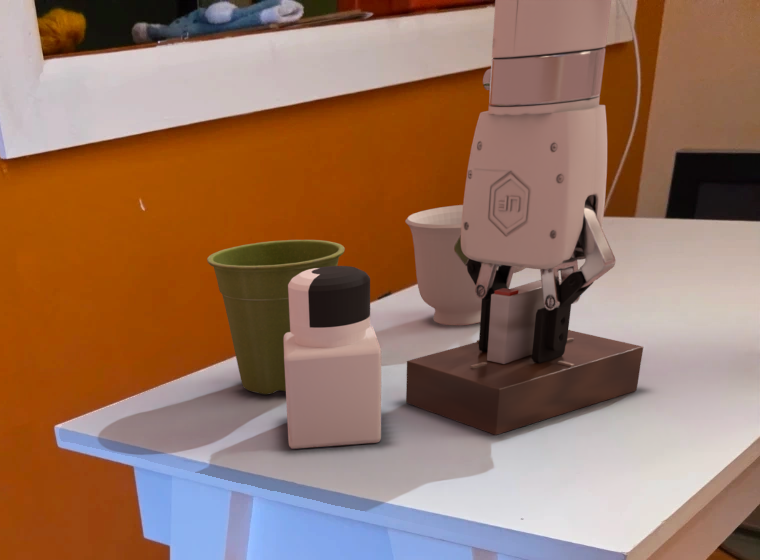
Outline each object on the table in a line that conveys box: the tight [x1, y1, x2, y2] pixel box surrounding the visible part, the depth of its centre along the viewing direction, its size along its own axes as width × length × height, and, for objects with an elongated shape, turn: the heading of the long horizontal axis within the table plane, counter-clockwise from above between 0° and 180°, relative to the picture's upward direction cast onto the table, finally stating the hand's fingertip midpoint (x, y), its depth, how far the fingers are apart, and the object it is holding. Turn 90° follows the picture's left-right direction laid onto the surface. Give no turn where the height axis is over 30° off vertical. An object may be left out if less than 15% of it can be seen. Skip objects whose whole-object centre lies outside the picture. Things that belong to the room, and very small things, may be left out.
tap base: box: [405, 329, 644, 436], centre depth 78 cm, size 15×11×4 cm
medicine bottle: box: [284, 265, 382, 450], centre depth 73 cm, size 7×7×12 cm
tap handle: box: [487, 278, 561, 364], centre depth 76 cm, size 6×2×5 cm, turn 125°
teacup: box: [404, 204, 526, 326], centre depth 98 cm, size 12×15×10 cm
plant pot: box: [206, 239, 346, 395], centre depth 85 cm, size 12×12×11 cm
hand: (520, 350), depth 77 cm, fingers open, 4 cm apart
